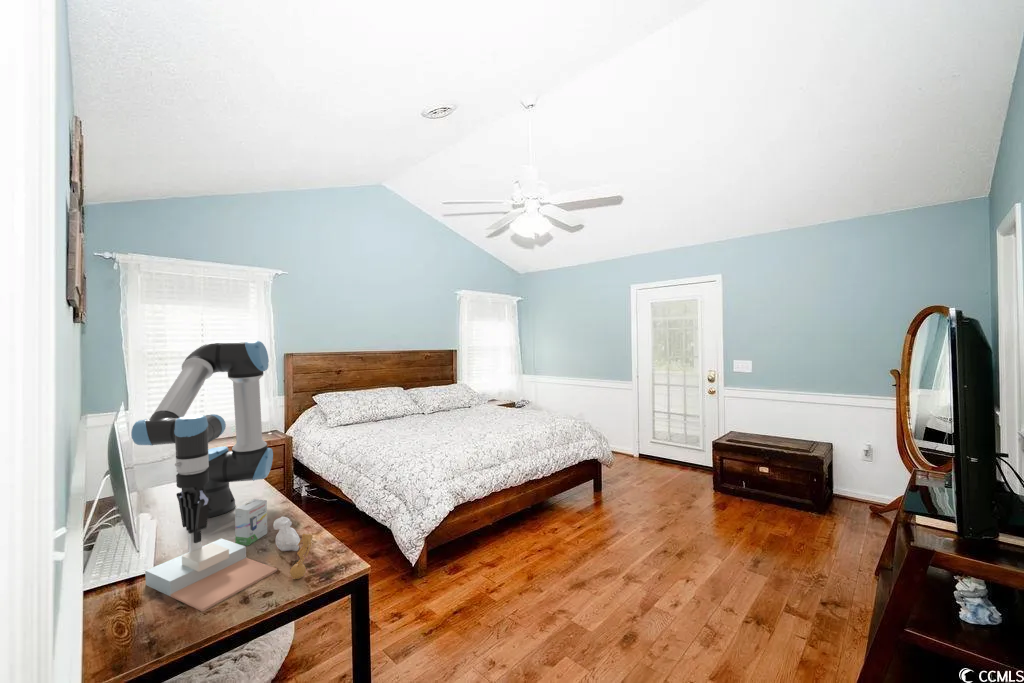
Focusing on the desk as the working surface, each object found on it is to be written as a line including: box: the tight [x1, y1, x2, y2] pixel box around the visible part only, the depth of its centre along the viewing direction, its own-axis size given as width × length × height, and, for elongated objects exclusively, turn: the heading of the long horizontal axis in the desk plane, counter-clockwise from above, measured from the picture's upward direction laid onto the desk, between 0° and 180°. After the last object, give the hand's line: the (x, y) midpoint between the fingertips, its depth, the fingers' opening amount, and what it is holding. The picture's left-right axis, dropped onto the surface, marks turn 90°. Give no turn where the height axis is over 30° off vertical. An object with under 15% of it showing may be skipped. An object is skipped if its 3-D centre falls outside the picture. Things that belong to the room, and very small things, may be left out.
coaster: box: [182, 542, 229, 572], centre depth 124 cm, size 8×8×2 cm
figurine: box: [289, 533, 313, 580], centre depth 123 cm, size 8×6×12 cm
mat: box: [170, 557, 278, 612], centre depth 121 cm, size 20×14×1 cm
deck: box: [144, 537, 247, 598], centre depth 126 cm, size 20×12×4 cm, turn 154°
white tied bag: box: [273, 516, 301, 552], centre depth 139 cm, size 12×8×11 cm
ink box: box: [234, 498, 268, 547], centre depth 145 cm, size 9×5×12 cm, turn 168°
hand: (195, 552), depth 126 cm, fingers closed
